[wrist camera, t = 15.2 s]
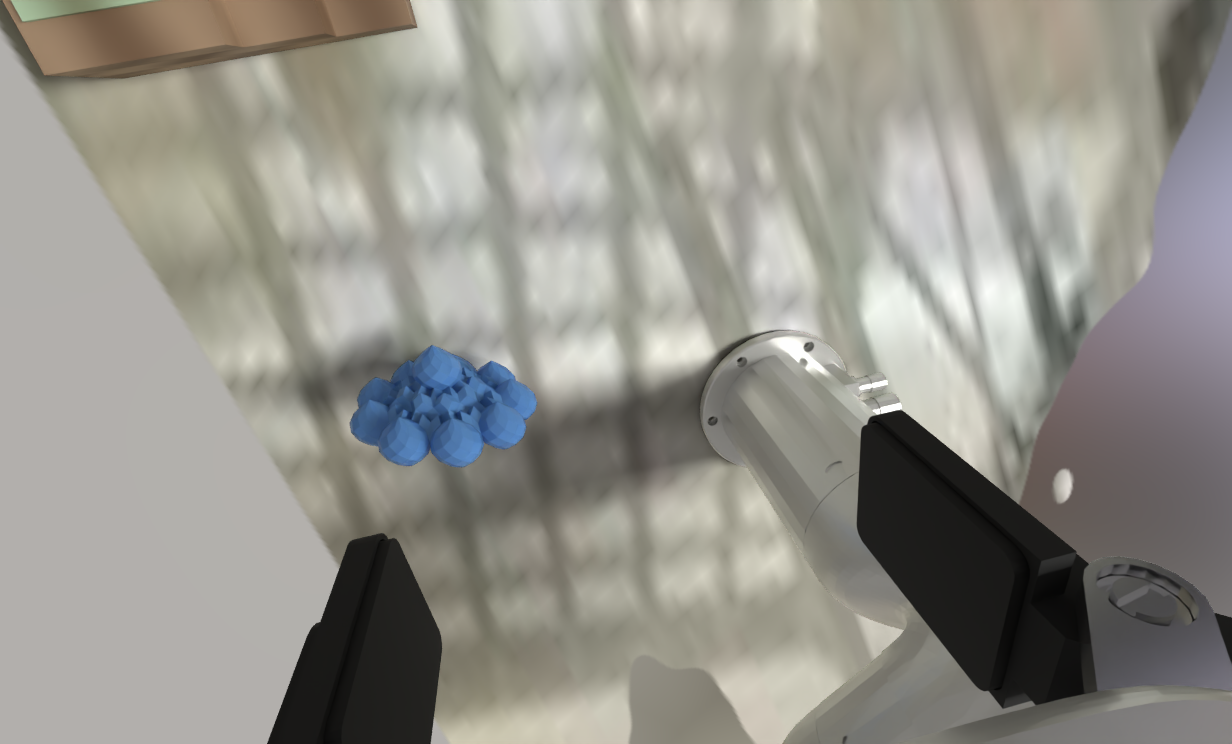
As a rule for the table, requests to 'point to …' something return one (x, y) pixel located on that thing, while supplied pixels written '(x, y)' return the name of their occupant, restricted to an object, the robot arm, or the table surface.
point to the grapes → (442, 410)
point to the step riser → (188, 30)
